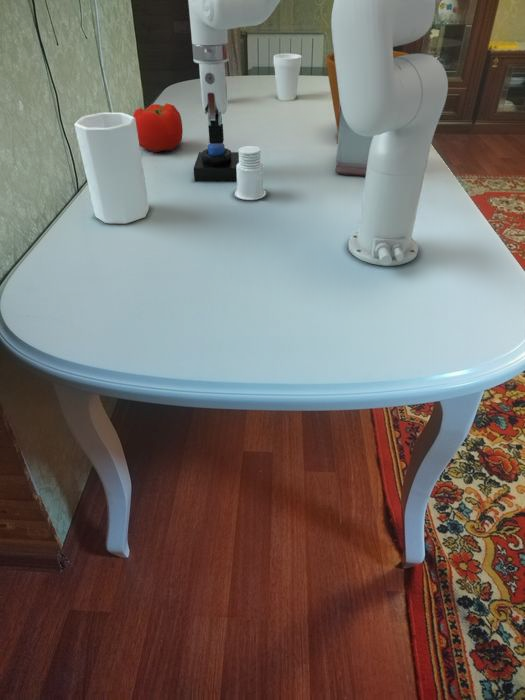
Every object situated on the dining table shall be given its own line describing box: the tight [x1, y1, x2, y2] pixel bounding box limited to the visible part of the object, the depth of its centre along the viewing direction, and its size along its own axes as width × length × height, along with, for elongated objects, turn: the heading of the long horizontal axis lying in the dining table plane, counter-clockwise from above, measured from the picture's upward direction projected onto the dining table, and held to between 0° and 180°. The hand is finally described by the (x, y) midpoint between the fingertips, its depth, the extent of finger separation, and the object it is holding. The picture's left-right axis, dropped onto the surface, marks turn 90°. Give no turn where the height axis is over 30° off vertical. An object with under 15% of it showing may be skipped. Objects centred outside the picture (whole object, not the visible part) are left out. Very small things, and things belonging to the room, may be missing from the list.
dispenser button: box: [207, 142, 226, 156], centre depth 120 cm, size 4×4×2 cm
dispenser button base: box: [193, 147, 239, 183], centre depth 122 cm, size 11×10×5 cm
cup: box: [74, 112, 150, 225], centre depth 100 cm, size 11×11×18 cm
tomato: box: [132, 102, 184, 153], centre depth 134 cm, size 14×13×10 cm
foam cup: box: [272, 53, 303, 102], centre depth 174 cm, size 10×9×13 cm
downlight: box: [234, 145, 267, 201], centre depth 110 cm, size 8×7×10 cm
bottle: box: [335, 101, 373, 177], centre depth 117 cm, size 14×10×30 cm
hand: (216, 142), depth 119 cm, fingers closed
